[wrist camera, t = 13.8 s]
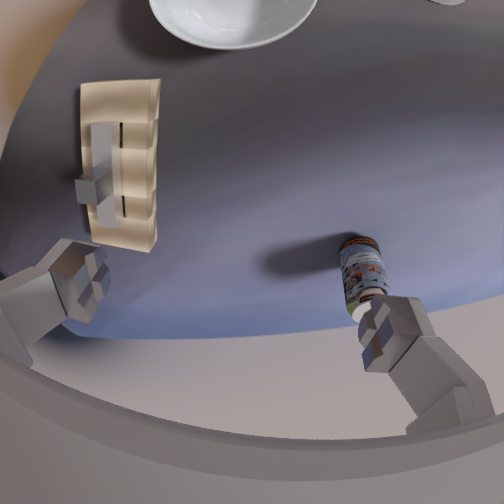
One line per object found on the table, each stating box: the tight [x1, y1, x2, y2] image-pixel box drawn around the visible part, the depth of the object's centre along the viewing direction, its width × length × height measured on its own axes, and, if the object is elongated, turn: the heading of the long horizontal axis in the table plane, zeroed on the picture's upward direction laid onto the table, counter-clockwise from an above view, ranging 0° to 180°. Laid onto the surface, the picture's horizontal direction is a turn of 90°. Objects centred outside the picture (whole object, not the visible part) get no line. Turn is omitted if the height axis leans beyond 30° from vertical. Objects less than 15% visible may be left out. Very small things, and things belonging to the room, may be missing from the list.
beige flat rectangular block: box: [80, 79, 161, 253], centre depth 35 cm, size 24×10×4 cm, turn 171°
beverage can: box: [339, 236, 392, 323], centre depth 37 cm, size 6×7×12 cm
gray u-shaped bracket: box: [75, 121, 125, 229], centre depth 32 cm, size 14×3×10 cm, turn 172°
